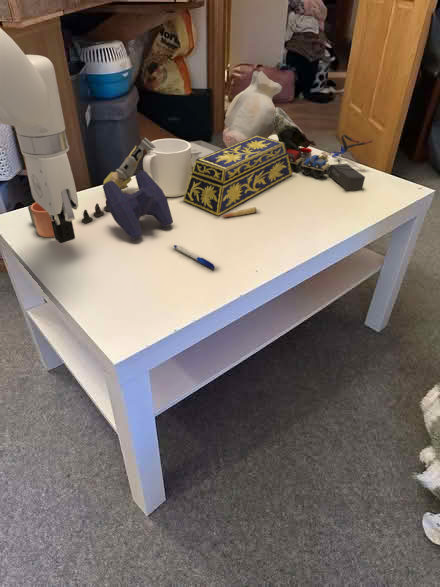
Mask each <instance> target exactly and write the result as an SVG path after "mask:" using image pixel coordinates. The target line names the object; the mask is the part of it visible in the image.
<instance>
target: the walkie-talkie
mask: <svg viewBox="0 0 440 587" xmlns="http://www.w3.org/2000/svg"><path fill="white" fill-rule="evenodd" d="M329 165H330V166H329V168H327V170H330V173H328V174H327V176H329V177H330V178H332V179H333V180H334V181H336V182H337V183H338V184H339V185H341V186H342V187H343V188H344V189H345V190H347V191H354V190H355V191H356V190H363V187H364V184H365V179H366V176H365V175H363V174H362V173H361V172H359V171H357V170H356V169H355V168H353V167H351V166H350V165H349V164H346V163H339V164H338V163H337V164H335V163H334V164H329Z"/></svg>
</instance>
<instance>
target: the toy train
mask: <svg viewBox="0 0 440 587" xmlns="http://www.w3.org/2000/svg"><path fill="white" fill-rule="evenodd" d="M301 153H302V152H299V151H297V150H294V149H288V150H287V154H288V158H289V163H290V167H291V171H295V170H296V169H297V170H298V169H299V168H300V169H301V170H302V172H303V174H304V175H307V176H308V175H310V174H313V176H314V178H316V179H319V178H321V176H325V175H328V173H330V170H327V168H329V167H330V165H331V164H329V163H327V162H326V160H323V159H319V155H320V154H314V155H312V156H311V157H307V158H306V159H305V161H304V157H303V156H301V155H302V154H301ZM326 163H327V164H326Z"/></svg>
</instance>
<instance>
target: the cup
mask: <svg viewBox="0 0 440 587" xmlns="http://www.w3.org/2000/svg"><path fill="white" fill-rule="evenodd" d="M31 205H32V206H31ZM31 205H30V206H31V210H32V214H33V218H34V221H35V225H36V227H35V229H36V233H37V235H39V236H40V237H43V238H53V237H54V238H55V235H54V231H53V227H52V223H51V221H54V220H51V219H50V216H49V213H48V212H47V211H46V210H45V209H43V208H42V207H41V206H40V205H39V204H38V203H37V202H36V201H35V202H33V203H32V204H31Z"/></svg>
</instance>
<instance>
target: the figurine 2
mask: <svg viewBox="0 0 440 587" xmlns="http://www.w3.org/2000/svg"><path fill="white" fill-rule="evenodd" d="M340 138H341V141H342V142H341V143H342V145H340V150H338V151H336V150H334V151H331V152H326V151H322V152H321V153H320V154H318V155H319V159H323V160H326V164H328V162H329V159H330V156H331V157H332V158H333V159H337V161H344V162H347V163H350V164H351V165H352V166H354V167H355V168H357V169H359V170H361V171H366V169H365V168H363V167H362V166H359V165H357V164H356V163H355V162H354V161H351V160H350V159H348V158H344V157H342V155H343V154H345V153H347V152H348V149H351V148H354V147H356V146H357V147H359V146H364V145H367V144H369V143H372V142H374V139H369V140H366V141H362V142H361V139H359V140H358V139H355V138H353V137H349V135H347V134H342V135H341V137H340ZM345 139H347V140H348V141H349V142H352V144H347V142H346V140H345Z"/></svg>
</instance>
